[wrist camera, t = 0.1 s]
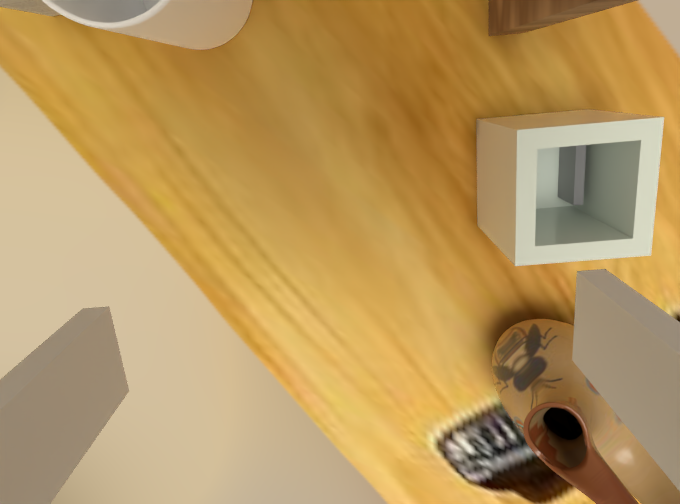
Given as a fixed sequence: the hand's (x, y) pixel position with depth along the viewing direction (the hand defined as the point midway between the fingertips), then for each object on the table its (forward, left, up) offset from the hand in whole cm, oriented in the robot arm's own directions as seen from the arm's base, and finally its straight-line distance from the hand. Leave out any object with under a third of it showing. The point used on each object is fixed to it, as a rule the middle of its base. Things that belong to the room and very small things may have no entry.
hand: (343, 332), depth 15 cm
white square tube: (+1, +15, -28) cm, 32 cm away
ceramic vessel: (+17, +16, -28) cm, 36 cm away
